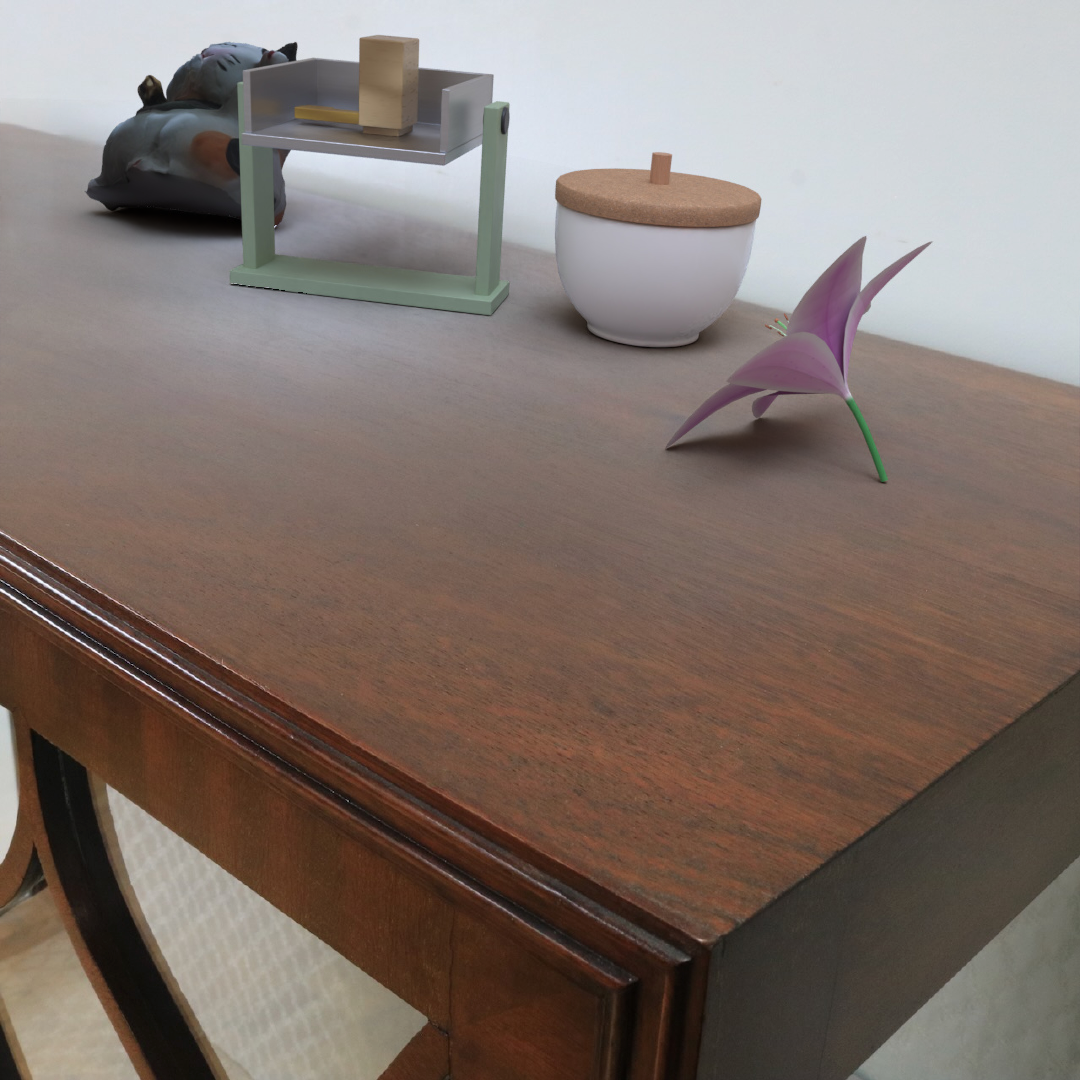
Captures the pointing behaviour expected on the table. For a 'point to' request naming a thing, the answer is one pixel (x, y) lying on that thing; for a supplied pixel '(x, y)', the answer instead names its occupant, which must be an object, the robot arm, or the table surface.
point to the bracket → (369, 279)
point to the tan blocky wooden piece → (380, 88)
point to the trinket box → (652, 250)
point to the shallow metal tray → (436, 137)
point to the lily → (811, 345)
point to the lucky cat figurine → (188, 139)
